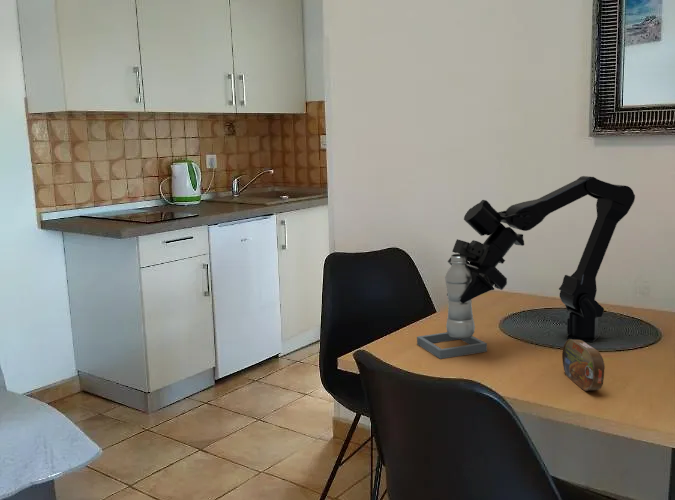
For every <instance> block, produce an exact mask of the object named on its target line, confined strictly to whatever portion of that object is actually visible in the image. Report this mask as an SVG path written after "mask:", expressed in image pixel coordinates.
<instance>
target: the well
mask: <svg viewBox="0 0 675 500" xmlns="http://www.w3.org/2000/svg"><path fill="white" fill-rule="evenodd" d="M456 340H461V341H462V342H464V343H466V344H465V345H459V346H453V347H445V348H441V347H439V346H437V345H436V343H437V344H438V343H444V342H445V343H446V342H450V341H456ZM416 344H417V346H419V347H421V348H423V350H425V351H427V352H429V353H430V354H432V355H433V356H434V357H436V358H437V359H440V360H442V359H449V358H455V357H461V356H467V355H473V354H479V353H486V352H488V342H485V341H483V340H481V339H479V338H477V337H475V336H473V335H472V337H469V338H462V339H460V338H453V337H450V336H449V334H448V333H447V331H446V332H439V333H433V334H425V335H418V336H416Z"/></svg>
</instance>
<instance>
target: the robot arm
mask: <svg viewBox="0 0 675 500" xmlns="http://www.w3.org/2000/svg"><path fill="white" fill-rule="evenodd" d="M587 195H588V196H589V197H591V198H594V199H596V202H595V203H596V204H595V206H596V219H595V222H594V224H593V227H592V230H591V232H590V234H589V237H588V240H587V242H586V244H585V247H584V250H583V252H582V255H581V258H580V260H579V262H578V265H577V268H576V270H575V271H574V272H573V273H572V274H571V275H568V274H565V275H564V277H563V278H562V284H561V285H560V287H559V288H558V290H559V291H560V292H559V298H560V301H561V302H562V304H563V305H564V306H565V308H566V311H569V317H568V318H567V319H566V334H567V336H566V339H567V340H568V339H572V340H582V341H584V342H590V343H594V342H595V341H596V340H597V339H598V338H599V337H601V333H599V318H601V317H602V316H603V314H604V311H605V308H604V307H603V306H602V305H601V304H600V303H599V302H597V301H596V295H597V276H598V273H599V270H600V268H601V265H602V262H603V260H604V258H605V256H606V252H607V250H608V248H609V245H610V243H611V240H612V237H613V236H614V235H613V234H614V232H615V230H616V228H617V224H618V223H619V222H620V221H622V220H623V218H624V217H625V216H626V215H627V214H628V213H629V212H630V210H631V208H632V207H633V205H634V203H635V199H636V195H635V193H634V190H633V188H631V187H630V186H629V185H624V184H623V185H622V184H613V183H610V182H607V181H603V180H600V179H598V178H597V177H594V176H588V175H587V176H586V175H583V176H580V177H578V178H577V179H576V180H573V181H571V182H570V183H567V184H565V185H563V186H561V187H559V188H556V189H555V190H552V191H551V192H549V193H547V194H545V195H543V196H541V197H539V198H536V199H532V200H527V201H522V202H519V203H516V204H511V205H510V206H508V208H506V209H505V210H503V211H497V210H496V209H495V208H493V206H492V205H491V203H489V202H488V201H487V199H482V200H481V201H480V202H479V203H477V204H475V205H473V206H472V207H469V209H468V210H467V211H466V213H465V215H464V217H463V220H464V222H465V223H467V224H468V226H469V227H471V228H472V229H473V230H475V232H476V233H477V234H479V235H480V236H481V237H483V236H485V235H486V236H488V237H487V238H486V239H485V240H484V242H483V243H482V242H481V241H478V240H474V239H473V240H471V242H469V241H466V240H461V239H456V240H455V243H454V245H453V249H452V253H453V254H454V253H455V254H462V255H464V256H466V255H467V261H468V263H466V265H467V267H468V268H469V269H470V271H471V272H472V281H471V283H470V284H469V286H468V287H467V289H466V290H465V292H464V293H463V295H462V297H461V299H460V302H461V303H465V302H467V301H469V300H471V301H472V300H473V299H475V298H477V297H479V296H481V295H483V294H486V293H488V292H490V291H495V289H498V290H501V291H503V290H504V289H505V287H506V286H507V285H508V278H507V277H506V276H505V275H504V274H503V273H502V272H501V271H500V270H499V269H498V268H497V266H498V265H499V264H501V265H503V264H504V263H505V261H506V260H505V259H504V257H505V256H506V255H507V253H508V252H509V251H510V249H512V247H513V246H514V245H515V246H522V247H523V246H525V240H524V234H523V233H517V232H516V231H515V230H514V229H516V230H519V231H522V232H525V231H526V232H527V231H530V230H532V229H534V228H535V227H536V226H538V225H539V224H540V223H541V222H543V221H544V219H545V218H546V217H547V216H548V215H550V214H551V213H555V212H556V211H557V210H560V209H562V208H564V207H565V206H567V205H570V204H572V203H574V202H575V201H578V200H579V199H581V198H583V197H586V196H587ZM504 224H505V225H507V226H505V225H504ZM447 263H448V264H449V265H450V267H451V266H452V264H451V257H449V259H448V260H447ZM446 296H447V297H448V293H446Z"/></svg>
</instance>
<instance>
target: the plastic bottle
mask: <svg viewBox="0 0 675 500" xmlns="http://www.w3.org/2000/svg"><path fill="white" fill-rule="evenodd" d="M450 258H451V264H452V266H451V265H450V267H449V269H448V270H447V271H446V273H445V276H444V279H445V285H446V287H445V288H446V292H447V293H448V296H447V299H448V301H447V302H448V307H447V309H448V310H447V318H446V324H445V325H446V326H445V327H446V332H447V333H448V334H449V336H450V337H453V338H460V339H462V338H469V337H472V336H473V335H474V334H475V330H476V326H475V320H474V315H473V306H472V305H473V304H472V299H471V300H469V301H467V302H465V303H461V302H460V299H461V297H462V295H463V293H464V292H465V290H466V289H467V287H468V286H469V284H470V283H471V281H472V272H471V271H470V269H469V268H468V267H467V265H466V263H468V262H469V261H467V255H466V256H464V255H462V254H459V253H455V254H454V253H452V254H451V256H450ZM447 293H446V294H447ZM460 339H459V340H460Z"/></svg>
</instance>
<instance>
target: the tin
mask: <svg viewBox="0 0 675 500" xmlns="http://www.w3.org/2000/svg"><path fill="white" fill-rule="evenodd" d="M561 354H562V357H561V358H562V359H561V360H562V367H563V371H564V373H565V376H566V377H567V378H568V379H569V380H571V381H572V382H573V383H574V384H576V386H578V387H579V388H580V389H581V390H583V391H586V392H587V391H599V390H600V389H601V388H602V386H603V385H604V379H605V368H606V366H605V363H604V362H605V361H604V358H603V356H602V354H601V353H600V351H599V350H597V349H596V348H595V347H593V346H591V345H590V344H588V343H587V342H586V341H582V340H574V339H568V338H567V340H565V342H564V345H563V347H562V353H561Z"/></svg>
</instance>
